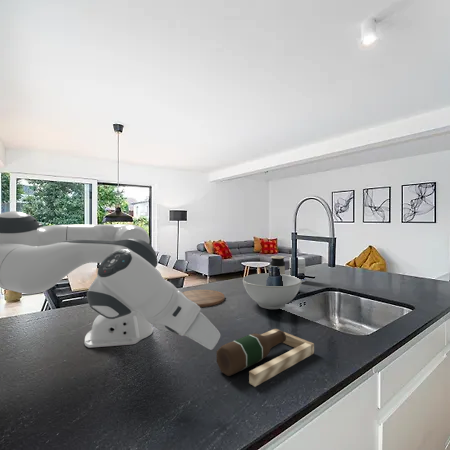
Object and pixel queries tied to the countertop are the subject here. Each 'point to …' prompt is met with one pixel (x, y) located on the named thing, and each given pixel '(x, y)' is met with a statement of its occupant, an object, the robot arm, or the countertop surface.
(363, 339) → the countertop surface
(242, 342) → the beer bottle
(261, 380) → the u rest
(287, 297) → the decorative bowl
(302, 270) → the supplement tub
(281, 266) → the travel mug
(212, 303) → the trivet
